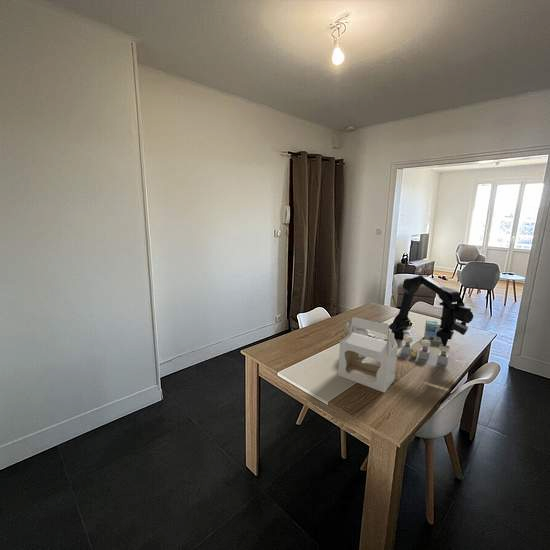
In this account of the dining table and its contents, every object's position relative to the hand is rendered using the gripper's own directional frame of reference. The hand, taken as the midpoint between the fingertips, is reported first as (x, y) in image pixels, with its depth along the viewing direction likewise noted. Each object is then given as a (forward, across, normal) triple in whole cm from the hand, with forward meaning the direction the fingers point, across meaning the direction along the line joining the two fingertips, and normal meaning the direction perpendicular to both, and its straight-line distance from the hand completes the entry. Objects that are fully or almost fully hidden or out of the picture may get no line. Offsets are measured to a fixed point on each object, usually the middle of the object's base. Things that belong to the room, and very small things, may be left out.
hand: (444, 345), depth 147 cm
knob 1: (+6, 0, +17) cm, 18 cm away
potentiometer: (+9, -4, +13) cm, 16 cm away
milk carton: (+10, -16, +37) cm, 42 cm away
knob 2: (+6, 0, 0) cm, 6 cm away
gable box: (+10, -36, +26) cm, 46 cm away
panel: (+10, 0, +8) cm, 13 cm away
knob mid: (+6, 0, +8) cm, 10 cm away
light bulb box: (+10, +32, +9) cm, 35 cm away
